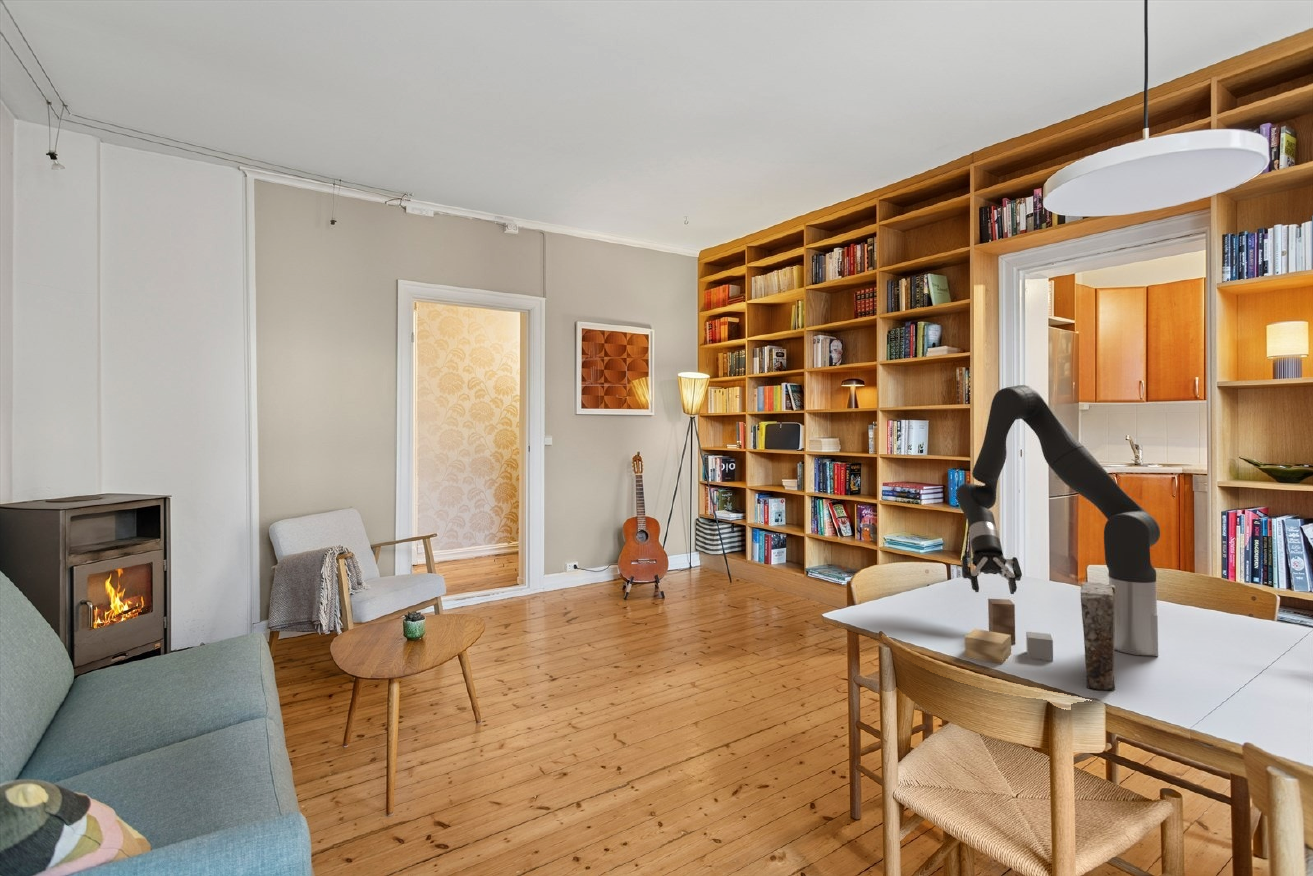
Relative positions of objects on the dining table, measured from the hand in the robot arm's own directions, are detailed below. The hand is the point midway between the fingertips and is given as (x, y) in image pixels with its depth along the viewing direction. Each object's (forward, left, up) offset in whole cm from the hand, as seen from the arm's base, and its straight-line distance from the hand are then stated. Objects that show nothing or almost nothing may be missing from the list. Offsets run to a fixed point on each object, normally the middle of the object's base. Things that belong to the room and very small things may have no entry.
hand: (995, 591), depth 168 cm
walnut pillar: (-2, +6, -11) cm, 13 cm away
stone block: (-23, +24, -11) cm, 35 cm away
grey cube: (-11, +14, -11) cm, 21 cm away
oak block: (-1, +20, -11) cm, 23 cm away
